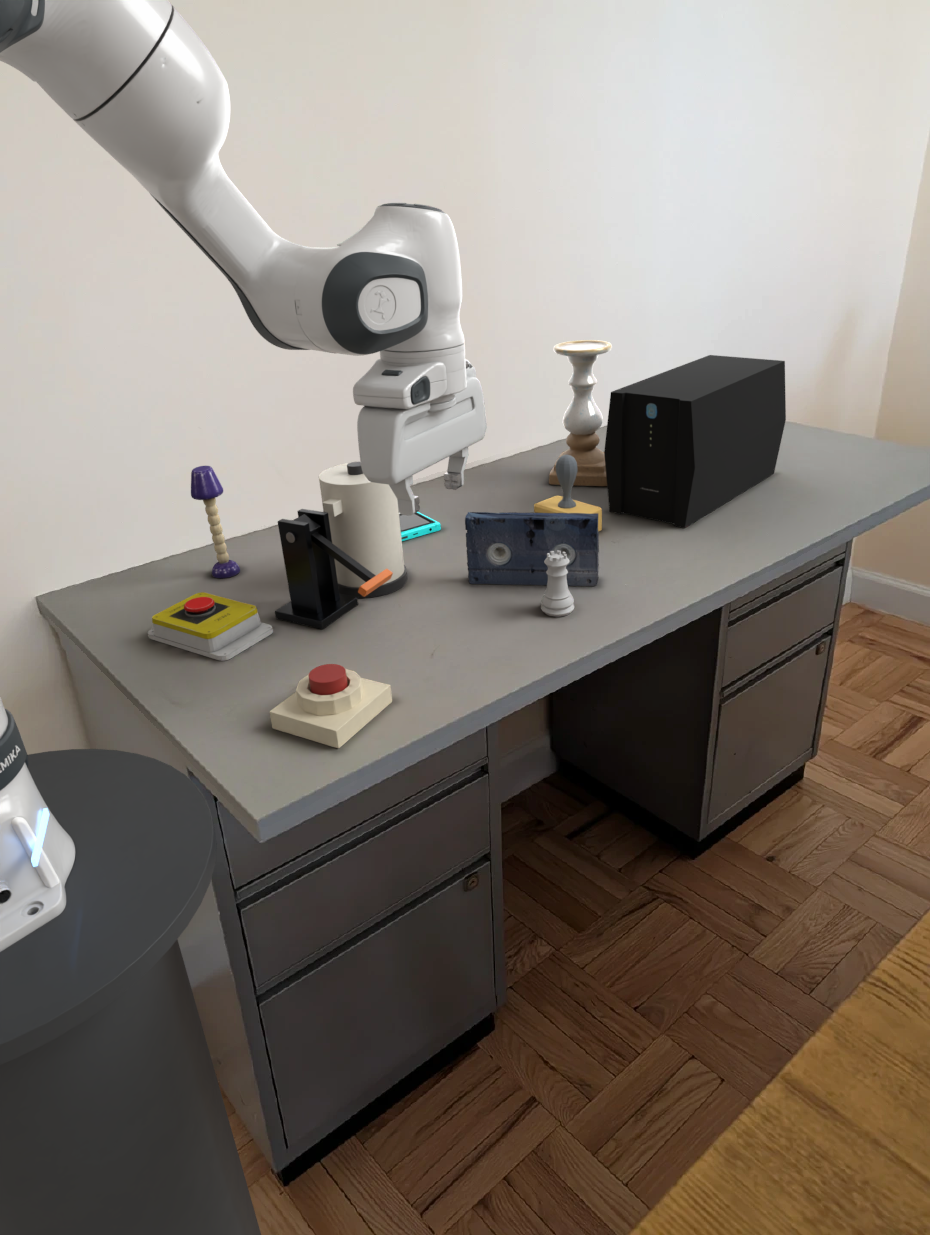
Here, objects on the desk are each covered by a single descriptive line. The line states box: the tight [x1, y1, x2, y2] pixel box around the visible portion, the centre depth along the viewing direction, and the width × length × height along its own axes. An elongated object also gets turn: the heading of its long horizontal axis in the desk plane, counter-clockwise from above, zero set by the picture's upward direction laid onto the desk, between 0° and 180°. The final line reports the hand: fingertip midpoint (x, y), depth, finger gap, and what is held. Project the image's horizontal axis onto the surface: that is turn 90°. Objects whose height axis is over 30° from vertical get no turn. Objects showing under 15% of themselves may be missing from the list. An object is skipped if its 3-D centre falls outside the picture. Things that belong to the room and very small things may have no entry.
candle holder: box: [548, 339, 613, 487], centre depth 162 cm, size 11×11×24 cm
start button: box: [308, 663, 348, 695], centre depth 97 cm, size 4×4×2 cm
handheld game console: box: [399, 511, 442, 542], centre depth 150 cm, size 10×16×1 cm, turn 33°
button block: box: [269, 668, 393, 749], centre depth 98 cm, size 10×9×4 cm
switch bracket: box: [274, 508, 359, 630], centre depth 119 cm, size 8×8×14 cm
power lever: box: [293, 514, 393, 597], centre depth 116 cm, size 14×6×2 cm, turn 60°
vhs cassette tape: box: [464, 511, 600, 587], centre depth 124 cm, size 18×3×10 cm, turn 78°
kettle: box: [318, 461, 408, 599], centre depth 126 cm, size 14×11×18 cm
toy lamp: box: [190, 465, 241, 579], centre depth 133 cm, size 5×5×17 cm
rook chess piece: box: [540, 551, 575, 618], centre depth 116 cm, size 4×4×8 cm
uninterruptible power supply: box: [603, 354, 787, 529], centre depth 152 cm, size 16×34×20 cm, turn 138°
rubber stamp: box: [533, 455, 603, 532], centre depth 142 cm, size 10×6×12 cm, turn 41°
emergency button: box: [147, 591, 274, 662], centre depth 117 cm, size 9×4×15 cm
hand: (432, 500), depth 99 cm, fingers open, 8 cm apart
